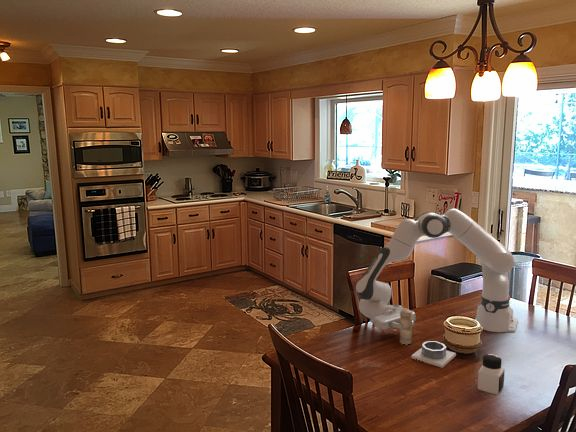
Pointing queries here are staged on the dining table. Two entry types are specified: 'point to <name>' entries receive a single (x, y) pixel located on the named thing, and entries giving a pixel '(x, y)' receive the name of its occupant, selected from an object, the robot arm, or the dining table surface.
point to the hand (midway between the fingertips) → (407, 325)
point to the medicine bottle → (491, 374)
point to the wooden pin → (406, 327)
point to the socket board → (434, 362)
